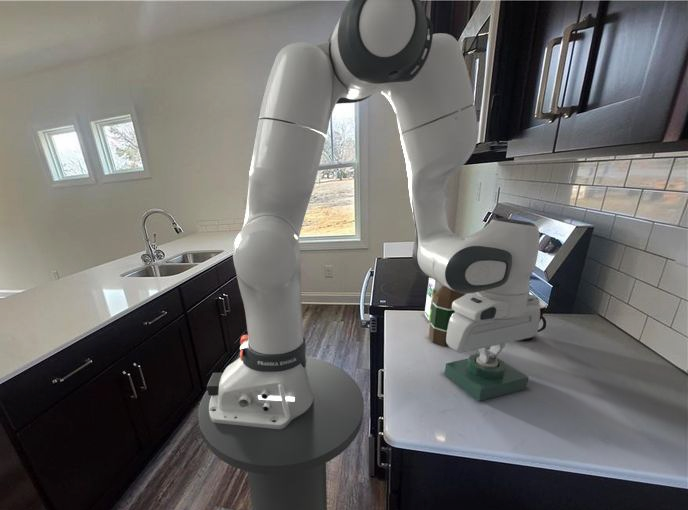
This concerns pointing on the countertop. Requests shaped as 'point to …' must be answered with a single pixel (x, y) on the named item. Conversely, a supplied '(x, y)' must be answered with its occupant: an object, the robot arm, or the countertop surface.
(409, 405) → the countertop surface
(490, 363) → the grey button cap
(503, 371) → the button base
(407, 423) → the countertop surface
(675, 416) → the countertop surface
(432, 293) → the syrup box
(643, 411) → the countertop surface
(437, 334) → the beer bottle
